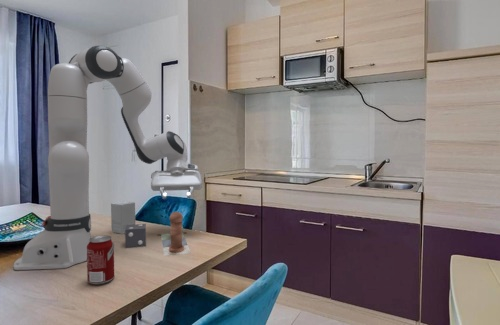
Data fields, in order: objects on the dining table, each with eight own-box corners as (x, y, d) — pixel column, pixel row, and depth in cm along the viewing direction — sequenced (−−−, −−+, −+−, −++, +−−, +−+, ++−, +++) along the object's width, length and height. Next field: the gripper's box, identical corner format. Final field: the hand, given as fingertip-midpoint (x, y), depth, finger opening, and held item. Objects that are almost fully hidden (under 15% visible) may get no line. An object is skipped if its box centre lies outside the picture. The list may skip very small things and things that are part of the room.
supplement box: (136, 230, 137) (135, 202, 136) (121, 234, 130) (120, 204, 130) (125, 227, 141) (125, 200, 140) (110, 231, 134) (110, 203, 134)
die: (125, 248, 112) (125, 229, 112) (126, 243, 119) (126, 224, 118) (145, 247, 114) (145, 228, 114) (145, 241, 121) (145, 223, 121)
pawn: (169, 253, 107) (169, 213, 106) (168, 248, 112) (168, 210, 111) (184, 251, 108) (184, 212, 108) (183, 247, 113) (182, 209, 113)
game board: (159, 257, 103) (159, 256, 103) (157, 234, 130) (157, 234, 130) (195, 253, 107) (195, 253, 107) (186, 232, 134) (186, 231, 134)
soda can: (103, 287, 82) (102, 242, 81) (81, 284, 83) (80, 241, 82) (119, 276, 88) (118, 235, 88) (98, 274, 90) (97, 234, 89)
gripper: (150, 166, 126) (148, 193, 117) (201, 165, 130) (202, 192, 121) (152, 175, 130) (149, 203, 121) (200, 175, 134) (202, 201, 125)
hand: (176, 197), depth 121 cm, fingers open, 8 cm apart
